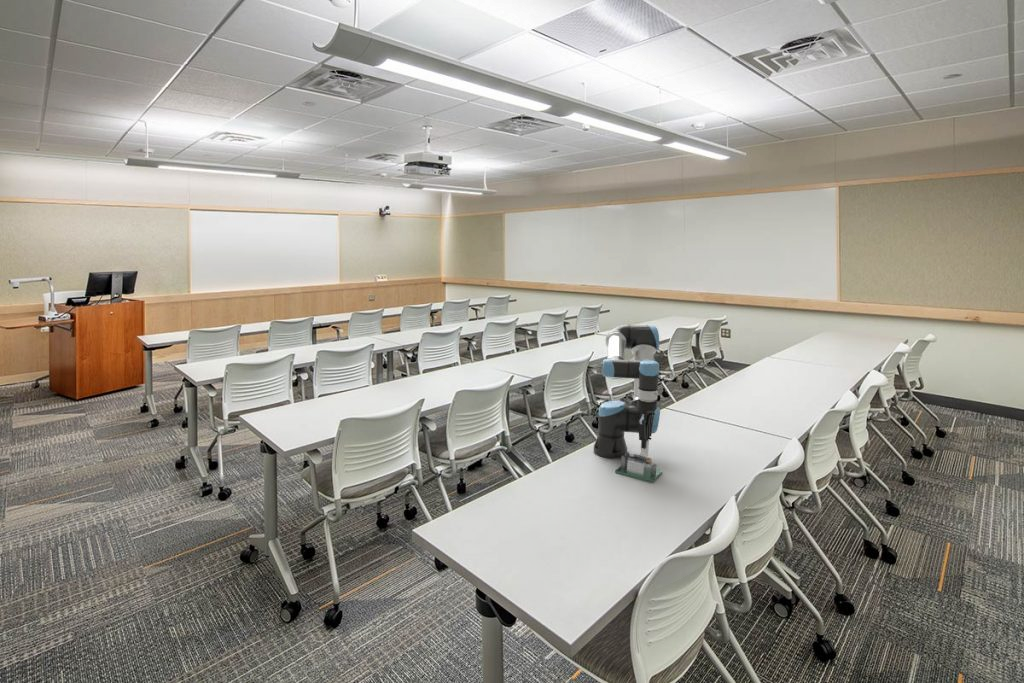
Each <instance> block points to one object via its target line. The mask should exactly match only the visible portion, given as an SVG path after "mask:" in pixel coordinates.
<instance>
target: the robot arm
mask: <svg viewBox="0 0 1024 683" xmlns="http://www.w3.org/2000/svg"><path fill="white" fill-rule="evenodd" d="M658 329H659V328H658V327H656V326H655V325H648V324H644V325H643V324H642V325H641V324H621V325H618V326H616V327H614V328H612V329H611V330H610V331H609V332H608V333H607V335H606V337H605V345H606V347H607V356H606V357H607V358H605V359H603V360H602V370H601V373H602V377H605V378H611V379H612V378H617V379H618V378H619V379H633V399H632V400H631V401H630V402H629V403H630V405H627V404H626V402H625V401H620V400H611V401H610V400H609V401H605V402H603V403H601V405H599V408H598V409H599V410H598V425H597V426H598V428H597V432H598V433H597V436H596V440H595V442H594V444H593V453H594V454H595V455H596V456H599V457H601V458H603V459H604V458H605V459H621V458H622V455H623V456H625V453H628V445H627V442H626V439H625V433H637V434H638V440H639V441H640V456H645V457H648V456H649V448H650V447H649V446H650V441H651V440H652V434H656V432H657V431H658V428H659V423H660V416H661V408H660V407H658V396H659V392H658V389H659V376H660V375H659V374H660V363H659V362H658V361H656V360H654V355H655V354H656V353H657V351H658V350H659V349H660V334H659V330H658ZM625 349H626V350H627V349H628V350H630V351H631V354H632V355H633V358H634V359H631V360H629V359H625V356H626V355H625Z"/></svg>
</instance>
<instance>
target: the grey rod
mask: <svg viewBox="0 0 1024 683" xmlns="http://www.w3.org/2000/svg"><path fill="white" fill-rule="evenodd" d="M625 456H626V459H629V458H631V459H635V460H639V461H643V462H646V464H649V465H650V464H651V465H652V464H653V458H651V457H649V458H648V459H647V460H646V459H642V458H638V457H633V455H625ZM650 458H651V459H650Z"/></svg>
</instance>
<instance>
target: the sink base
mask: <svg viewBox="0 0 1024 683" xmlns="http://www.w3.org/2000/svg"><path fill="white" fill-rule="evenodd" d="M625 455H629V456H631V454H630V453H629V452H627V453H625ZM632 456H633V457H638V458H642V459H646V460H647V459H648V458H650V459H652V458H651V457H648V456H643V455H639V454H636V453H634V454H633V455H632ZM620 459H621V461H620V462H621V464H620V466H619V467H618V468H616V469H615V471H614V473H615V474H619V475H620V476H621V475H622V476H625V477H629V478H634V479H636V480H641V481H643V482H648V483H651V484H653V483H654V482H655V481H657V479H658V478H659V477H660V476H661V475H662V474H663V471H662V470H660V469H657V464H656V463H651V464H650V465H649V464H646V462H643V461H639V460H635V459H631V458H629V459H626V456H623V455H622V458H620Z"/></svg>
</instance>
